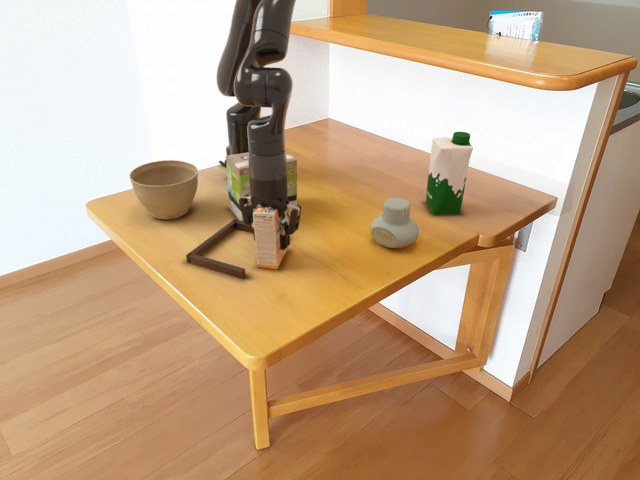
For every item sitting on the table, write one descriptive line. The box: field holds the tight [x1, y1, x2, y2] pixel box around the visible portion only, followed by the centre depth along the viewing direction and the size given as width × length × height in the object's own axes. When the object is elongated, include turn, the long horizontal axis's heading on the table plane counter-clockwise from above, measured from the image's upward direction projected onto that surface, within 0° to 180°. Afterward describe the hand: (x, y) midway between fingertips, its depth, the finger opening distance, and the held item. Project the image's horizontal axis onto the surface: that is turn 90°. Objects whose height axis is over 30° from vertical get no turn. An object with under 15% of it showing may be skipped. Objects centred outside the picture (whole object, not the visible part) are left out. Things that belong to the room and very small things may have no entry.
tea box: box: [225, 150, 298, 221], centre depth 128 cm, size 15×10×15 cm, turn 117°
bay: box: [185, 218, 254, 280], centre depth 114 cm, size 14×18×2 cm
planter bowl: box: [129, 159, 199, 220], centre depth 128 cm, size 16×16×11 cm
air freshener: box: [370, 197, 420, 249], centre depth 116 cm, size 11×8×10 cm
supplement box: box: [253, 207, 289, 270], centre depth 108 cm, size 8×5×13 cm, turn 167°
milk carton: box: [425, 131, 474, 216], centre depth 128 cm, size 9×9×20 cm
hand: (271, 244), depth 110 cm, fingers closed on supplement box, 5 cm apart
